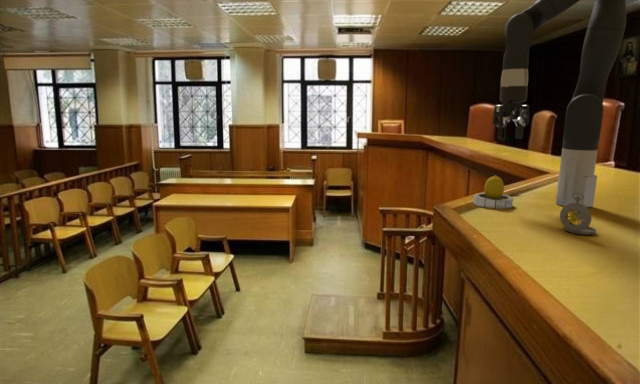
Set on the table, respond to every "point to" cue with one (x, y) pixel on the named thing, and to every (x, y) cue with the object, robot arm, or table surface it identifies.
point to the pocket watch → (577, 217)
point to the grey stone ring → (493, 201)
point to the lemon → (494, 187)
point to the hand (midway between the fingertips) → (510, 139)
